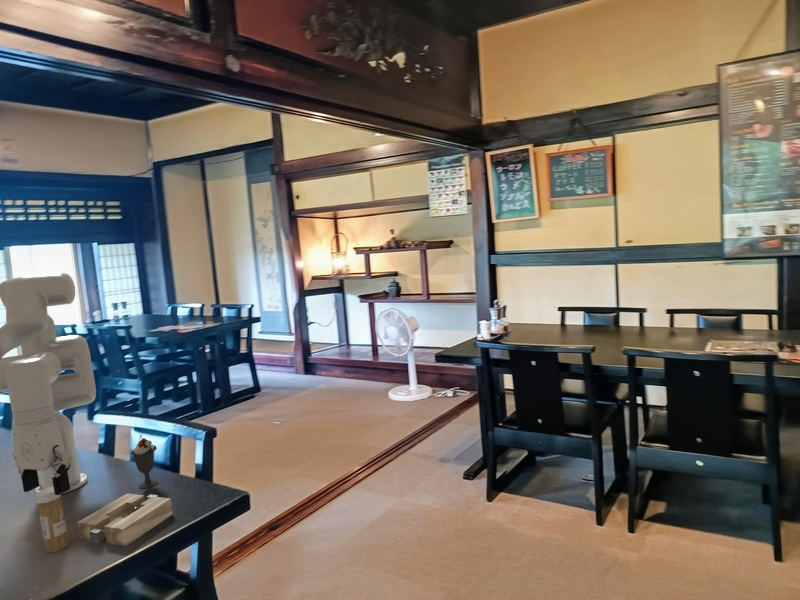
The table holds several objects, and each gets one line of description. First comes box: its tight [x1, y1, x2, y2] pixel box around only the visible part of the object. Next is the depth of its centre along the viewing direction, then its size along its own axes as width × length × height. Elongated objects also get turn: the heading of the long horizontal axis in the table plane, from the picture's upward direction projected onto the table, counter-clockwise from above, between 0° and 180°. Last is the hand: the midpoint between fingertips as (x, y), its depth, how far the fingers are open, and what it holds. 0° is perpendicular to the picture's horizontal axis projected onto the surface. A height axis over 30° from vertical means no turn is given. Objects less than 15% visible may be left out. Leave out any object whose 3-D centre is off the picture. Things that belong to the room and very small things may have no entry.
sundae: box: [129, 434, 159, 490], centre depth 149 cm, size 7×7×15 cm
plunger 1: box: [89, 520, 114, 544], centre depth 122 cm, size 2×7×2 cm, turn 159°
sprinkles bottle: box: [35, 487, 70, 554], centre depth 120 cm, size 5×5×13 cm
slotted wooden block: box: [76, 493, 174, 547], centre depth 127 cm, size 14×14×4 cm
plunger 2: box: [132, 494, 159, 513], centre depth 132 cm, size 2×7×2 cm, turn 159°
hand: (47, 490), depth 118 cm, fingers open, 9 cm apart
